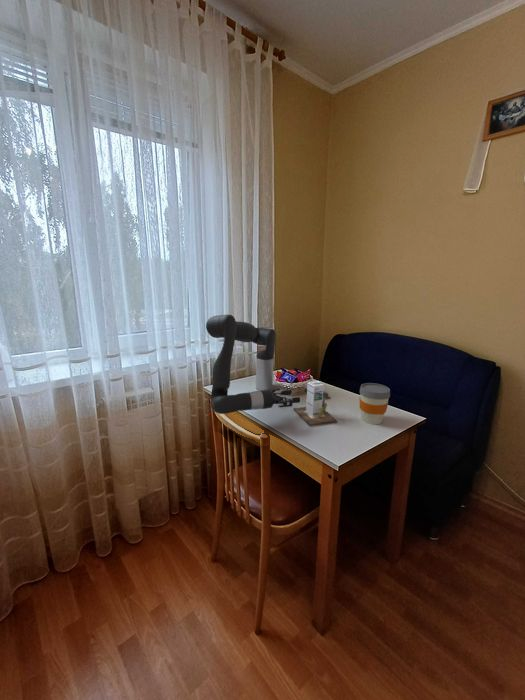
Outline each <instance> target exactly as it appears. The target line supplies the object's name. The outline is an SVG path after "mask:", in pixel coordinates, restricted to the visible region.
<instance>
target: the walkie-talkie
mask: <svg viewBox="0 0 525 700" xmlns="http://www.w3.org/2000/svg"><path fill="white" fill-rule="evenodd" d="M304 391H305V392H306V393H307V388H305V389H304ZM326 399H327V400H328V399H329V393H328V392H326V391H325V396H324V400H326ZM324 403H326V401H324Z"/></svg>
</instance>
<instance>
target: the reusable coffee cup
mask: <svg viewBox="0 0 525 700" xmlns="http://www.w3.org/2000/svg"><path fill="white" fill-rule="evenodd" d="M359 395H360V396H359V398H358V399H359V400H358V401H359V409H360V419H361V421H363V422H364V423H366V424H370V425H380V424H382V423H381V422H383V420H384V415H385V413H386V412H387V409H388V405H389V399H390V397H391V389H390V388H389V387H388V386H386V385H384V384H380V383H374V382H366V383H362V384H360V388H359Z"/></svg>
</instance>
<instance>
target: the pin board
mask: <svg viewBox="0 0 525 700" xmlns="http://www.w3.org/2000/svg"><path fill="white" fill-rule="evenodd" d="M326 409H327V403H326V402H325V403H324V411H323V415H322V408H319V415H318V416H314V417H312V416H310V415H309V414H308V413H307V412H306V406H303V407H301V406H299V407H294V408H293V411H294V413H295V414H296V415H298V417H299V418H300V419H302V420H303V422H304V423H305V424H307V425H308V427H315V426H316V427H317V426H322V425H329V424H336V423H337V422H338V420H337V418H335V417H334V416H333V415H332V414H331V413H330V412H328V411H327V410H326Z"/></svg>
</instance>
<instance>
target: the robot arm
mask: <svg viewBox="0 0 525 700" xmlns="http://www.w3.org/2000/svg"><path fill="white" fill-rule="evenodd" d="M205 330H206V331H207V333H208V335H209V336H211V337H212V338H215V339H223V344H222V348H221V349H220V352H219V354H218V356H217V358H216V360H215V362H214V364H213V368H212V381H211V383H212V387H211V388H212V389H211V393H210V400H209V401H210V402H209V405H210V408H211V410H212V411H213V412H214V413H216V414H220V415H223V414H231V413H235V412H240V411H242V412H243V411H250V410H251V411H253V410H254V411H255V410H256V411H257V410H266V409H271V408H273V406H274V405H278V408H279V409H281V408H289V407H293V404H296V403H297V404H298V403H300V402H301V397H299V396H297V397H296V396H295V397H288V396H291V395H292V393H293V391H292V390H291V389H285V390H284V389H281V388H273V382H274V355H275V351H276V350H275V349H276V348H275V347H276V341H277V340H276V339H277V338H276V337H277V335H276V331H275V330H274V329H273V328H269V327H268V328H265V327H255V325H254V324H251V323H250V322H245V321H236V318H235V317H234V315H232V314H228V313H227V314H219V315H213V316H211V317H209V319H208V320H207V321H206V323H205ZM235 341H236V342H242V343H254V344H256V345H259V346H263V347H265V349H263V350H259V351H257V352H256V358H255V359H256V360H255V362H256V363H255V364H256V365H255V366H256V369H255V389H256V390H255V391H248V392H241V393H237V394H230V395H229V389H230V385H231V367H232V365H231V364H232V359H233V353H234V352H233V351H234V347H235Z"/></svg>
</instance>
